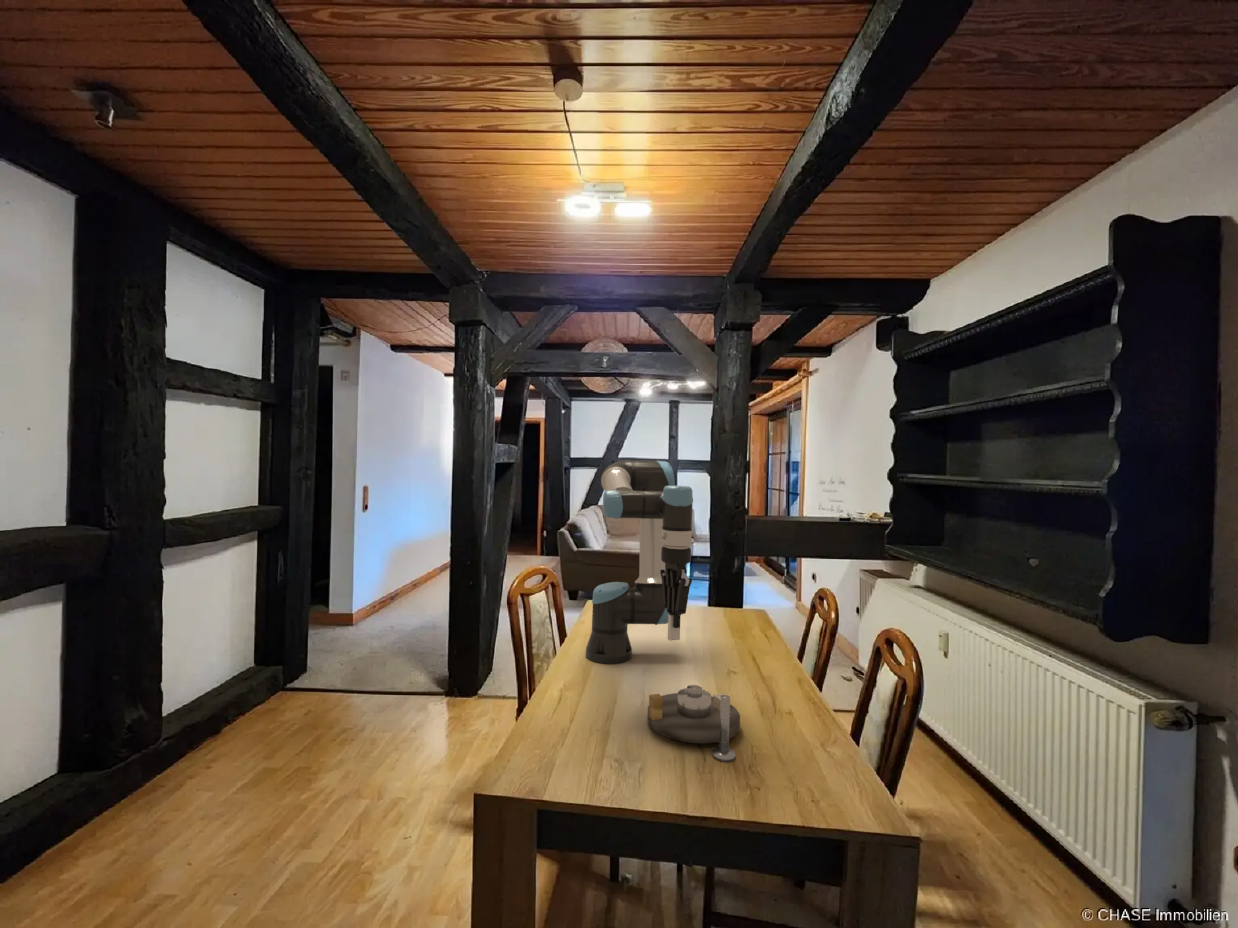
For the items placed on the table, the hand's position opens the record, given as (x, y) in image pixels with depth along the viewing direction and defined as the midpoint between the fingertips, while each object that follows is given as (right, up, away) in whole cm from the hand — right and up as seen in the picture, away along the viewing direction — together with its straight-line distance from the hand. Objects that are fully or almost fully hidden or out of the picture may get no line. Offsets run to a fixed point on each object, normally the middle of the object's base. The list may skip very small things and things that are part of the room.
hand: (673, 639), depth 141 cm
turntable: (+4, -17, -8) cm, 19 cm away
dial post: (+9, -19, -21) cm, 29 cm away
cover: (+4, -15, -7) cm, 17 cm away
